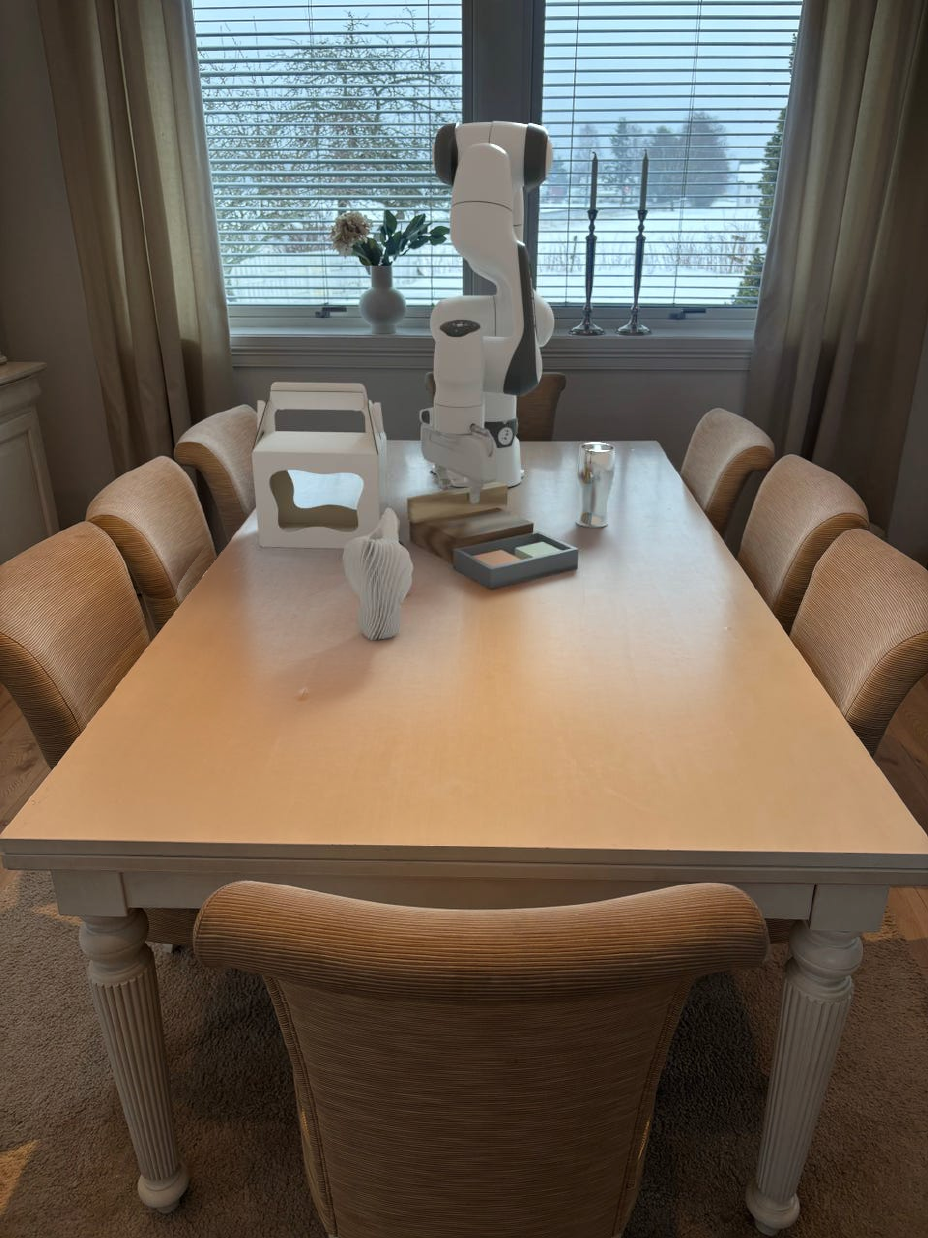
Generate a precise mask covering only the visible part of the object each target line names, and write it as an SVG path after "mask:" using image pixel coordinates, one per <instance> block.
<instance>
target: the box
mask: <svg viewBox="0 0 928 1238" xmlns="http://www.w3.org/2000/svg"><path fill="white" fill-rule="evenodd" d="M539 542H544V543H546V544H549V545H551V546H553V547H555V548H557V549H560V550H562V551H559V552H554V553H550V554H546V555H541V556H537V557H533V558H528V559H524V560H520V561H516V562H511V563H507V564H503V565H498V566H494V567H492V566H490V565H488V564H486V563H484V562H482V561H480V560H479V559H477V558H475V557H473V556H476V555H481V554H485V553H490V552H494V551H499V550H503V551H505V552H507V553H509V554H511V555H513V556H515V548H517V547H522V546H526V545H531V544H535V543H539ZM579 552H580V549H579V548H578V547H575V546H573V545H571V544H569V543H567V542H565V541H562V540H560V539H558V538H555V537H553V536H551V535H549V534H547V533H544V532H542V531H540V530H536V531H533V532H531V533H526V534H522V535H517V536H512V537H508V538H503V539H499V540H494V541H489V542H485V543H480V544H475V545H471V546H466V547H461V548H457V549H454V559H453V564H452V565H453V570H455V571H457V572H458V573H461V574H462V575H463V576H466V577H467V578H468V579H471V580H473V581H474V582H476V583H478V584H480V585H482V586H484V587H485V588H487V589H489V590H491V591H492V590H495V589H500V588H503V587H507V586H510V585H515V584H516V585H517V584H520V583H523V582H527V581H532V580H536V579H540V578H544V577H548V576H551V575H556V574H561V573H565V572H568V571H571V570H577V569H578V567H579V566H578V565H579V564H578V562H579V554H580V553H579Z"/></svg>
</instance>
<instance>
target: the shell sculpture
mask: <svg viewBox="0 0 928 1238" xmlns="http://www.w3.org/2000/svg"><path fill="white" fill-rule="evenodd" d="M396 517H397V515H396V513H395V511H394V510H393V509H392V508H391V507H388V508H387V509H386V510H385V513H384V515H382V518H381V520H380V521H379V524H378V532H377V534H376V531H377V527H376V530H374V532H372V533H371V534H369V535H367V536H363V537H358V538H355V539H353V540H351V541H349V542H348V543H347V544H346V545H345V546H344V549H343V554H342V563H343V567H344V568H343V569H344V573H345V576H346V578H347V580H348V582H349V584H350V586H351V588H352V590H353V591H354V592H355V594H356V595H357V597H358V598H359V607H358V615H357V625H358V627H359V630H360V632H361V633H362V634H363V635H364V636H365V637H367V638H368V639H369V640H371V641H373V640H374V641H376V640H379V641H380V640H385V639H389V638H393V637H395V636H397V635H399V633H400V631H401V625H402V606H401V603H403V602H404V600H405V599H406V597H407V596H406V594H407V592H408V593H409V591H410V588H411V587H412V582H413V579H412V573H413V571H414V565H413V562H412V560H411V558H410V557H411V555H410V552H409V551H408V550H407V548H405V546H404V547H403V546H402V545H401V544H400V543H399V541H400V540H399V535H398V528H397V518H398V517H397V518H396ZM378 534H379V535H378ZM377 537H378V539H377ZM388 577H389V581H388ZM387 581H388V587H387ZM391 587H392V589H391ZM401 590H402V591H401ZM390 593H391V594H390ZM400 593H401V594H400Z"/></svg>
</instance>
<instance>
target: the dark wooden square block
mask: <svg viewBox="0 0 928 1238" xmlns="http://www.w3.org/2000/svg"><path fill="white" fill-rule="evenodd" d="M408 522H409V541H411V542H413V543H414V544H416V545H418V546H419V547H422V548H423V549H424V550H426V551H428V552H429V553H431V554H433V555H435V556H437V557H438V558H441V559H442V560H444V561H446V562H448V563H450V564H451V565H453V559H454V549H457V548H461V547H466V546H471V545H475V544H480V543H485V542H489V541H494V540H499V539H503V538H508V537H512V536H517V535H522V534H526V533H531V532H534V526H535V525H534V522H532V521H529V520H527V519H525V518H523V517H521V516H519V515H517V514H514V513H512V512H510V511H507V510H505V509H504V508H503V509H502V507H498V508H493V509H488V510H483V511H478V512H472V513H467V514H462V515H457V516H452V517H446V518H441V519H436V520H431V521H426V522H420V523H415V524H414V523H412V522H411V521H409V520H408Z"/></svg>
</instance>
